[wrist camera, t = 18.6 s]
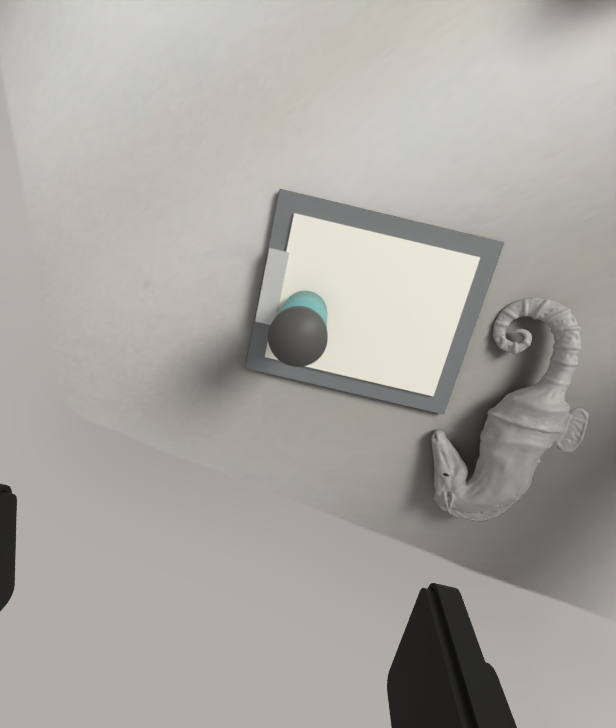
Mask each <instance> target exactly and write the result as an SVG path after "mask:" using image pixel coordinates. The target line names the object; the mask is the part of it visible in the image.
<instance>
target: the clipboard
mask: <svg viewBox="0 0 616 728" xmlns="http://www.w3.org/2000/svg"><path fill="white" fill-rule="evenodd" d="M503 245H504V242H500V241H496V240H492V239H488V238H484V237H479V236H475V235H471V234H467V233H463V232H458V231H454V230H450V229H446V228H442V227H438V226H433V225H429V224H425V223H421V222H417V221H412V220H408V219H404V218H400V217H396V216H392V215H387V214H383V213H379V212H375V211H371V210H366V209H362V208H358V207H354V206H350V205H345V204H341V203H337V202H333V201H329V200H325V199H320V198H316V197H312V196H308V195H304V194H299V193H295V192H291V191H287V190H283V189H280V190H279V196H278V201H277V206H276V211H275V216H274V221H273V227H272V232H271V237H270V242H269V247H268V253H267V258H266V263H265V268H264V273H263V279H262V284H261V289H260V294H259V299H258V305H257V310H256V315H255V320H254V325H253V331H252V336H251V341H250V346H249V351H248V357H247V362H246V367H245V368H247V369H251V370H256V371H260V372H264V373H268V374H273V375H277V376H281V377H285V378H290V379H294V380H298V381H303V382H307V383H311V384H315V385H320V386H324V387H328V388H333V389H337V390H341V391H345V392H350V393H354V394H358V395H362V396H367V397H371V398H375V399H380V400H384V401H388V402H392V403H397V404H401V405H405V406H409V407H414V408H418V409H422V410H427V411H431V412H435V413H439V414H444V413H445V410H446V407H447V404H448V401H449V399H450V396H451V393H452V390H453V387H454V384H455V382H456V379H457V376H458V373H459V370H460V367H461V364H462V362H463V359H464V356H465V353H466V350H467V347H468V344H469V342H470V339H471V336H472V333H473V330H474V327H475V325H476V322H477V319H478V316H479V313H480V310H481V307H482V305H483V302H484V299H485V296H486V293H487V290H488V287H489V285H490V282H491V279H492V276H493V273H494V270H495V268H496V265H497V262H498V259H499V256H500V253H501V250H502V248H503ZM299 291H311V292H314V293H316V294H318V295H319V296H320V297H321V298H322V299H323V300H324V302H325V304H326V307H327V332H328V340H327V346H326V349H325V351H324V353H323V354H322V356H321V357H320V358H319V359H318V360H317V361H315V362H314V363H312V364H310V365H307V366H303V367H293V366H289V365H286V364H284V363H282V362H281V361H279V360H278V359H277V358H276V357H275V356H274V354H273V353H272V351H271V349H270V347H269V344H268V331H269V328H270V325H271V323H272V322H273V320H274V318H275V317H276V316H277V315H278V313H279V312H280V310H281V309H282V307H283V305H284V304H285V302H286V300H287V299H288V298H289V297H290V296H291V295H292V294H294V293H296V292H299Z"/></svg>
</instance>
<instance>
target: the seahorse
mask: <svg viewBox="0 0 616 728" xmlns="http://www.w3.org/2000/svg"><path fill="white" fill-rule="evenodd" d="M521 316H524V317H526V316H529V317H532V318H533V319H538V320H541V321H542V322H544V323H545V324H547V325H549V327H550V328H551V332H552V333H553V334H554V338H555V344H554V345H553V348H554V350H553V354H552V357H551V358H550V365H549V368H548V370H547V372H546V373H545V375H544V376H543V377H542V378H541V380H540V381H539V382H538V383H537V384H535V385H533V386H529V387H526V388H522V389H519V390H516V391H514V392H512V393H509V394H507V395H506V396H505V397H504V398H503V400H502V401H500V402H499V403H498V404H497V405H496V406H495V407H494V408H491V409H489V411H488V412H487V414H488V417H487V420H486V422H485V425H484V429H483V430H482V432H481V434H480V439H481V442H480V449H479V453H480V456H479V458H478V460H477V463H476V468H475V472H474V474H473V476H472V477H471V478H470V479H468V480H467V479H466V478H467V475H468V468H467V466H466V464H465V462H464V461H463V460H462V459H461V457H460V455H459V453H458V452H457V450H456V449H455V448H454V447H453V445H452V444H451V443H450V441H449V440H448V439H447V438H446V436H445V433H444V432H443V431H441V430H439V429H437V430H435V432H434V433H433V434H432V436H431V442H432V451H433V458H434V469H435V476H434V488H435V491H436V492H435V495H434V500H435V501H436V502H437V503H438V504H439V507H440V508H441V509H442V510H444V511H446V510H447V511H448V513H449V514H451V515H454V516H455V517H459V518H464V519H470V520H472V521H477V520H478V521H481V522H482V521H485V520H488V519H493V518H496V517H497V516H499V515H500V514H501V513H502V514H503V513H504V512H505V511H506V510H508V508H509V506H511V505H513V504H514V503H515V502H517V501H518V500H519V498H520V497H521V496H522V495H523V494H524V493H525V492H526V491H527V490H528V489H529V487H530V485H531V481H532V477H533V474H534V471H535V470H536V467H537V465H538V464H539V463H540V457H541V456H542V455H543V453H544V452H545V451H546V450H547V449H549V448H550V447H551V446H552V445H554V446H556V447H557V448H559V449H560V450H562V451H563V452H564V453H570V452H573V451H574V450H575V449H576V448H577V447H578V446H579V445H580V444H581V442H582V441H583V438H584V435H585V431H586V428H587V424H588V418H589V414H588V413H587V411H585V410H584V409H582V408H576V409H574V410H572V411H571V412H570V406H569V404H568V403H567V402H566V401H565V394H566V391H567V388H568V386H569V385H570V384H571V377H572V375H573V373H574V370H575V368H576V366H577V365H578V364H579V363H578V357H579V352H580V350H581V349H582V348H581V337H580V329H581V327H580V326H578V324H577V321H576V319H575V318H574V316H573V315H572V314H571V310H570V309H569V308H565V307H564V306H562V305H561V304H559V303H557V302H555V301H552V300H549V299H542V298H536V297H534V298H528V299H523V300H520V301H517V302H514V303H512V304H510V305H508V306H507V307H506V308H505V309H503V310H502V311H501V313H500V314H499V315H498V317H497V319H496V321H495V322H494V327H493V328H494V329H493V338H494V341H495V343H496V344H497V345H498V347H499V348H500V349H502V350H504V351H505V352H510V353H513V354H517V353H520V352H522V351H524V350H525V349H526V348H527V347H529V346H530V345H531V342H532V335H531V333H530V332H529V331H527V330H525V329H516V330H514V332H513V333H520V334H523V336H524V339H523V340H522V342H521V343H517V342H511V341H509V340H508V339H506V336H505V333H506V331H505V329H506V327H507V326H509V325H510V323H511V322H512V321H513V320H514V319H517V318H519V317H521Z"/></svg>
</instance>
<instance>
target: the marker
mask: <svg viewBox="0 0 616 728" xmlns="http://www.w3.org/2000/svg"><path fill="white" fill-rule="evenodd" d="M327 340H328V332H327V307H326V304H325V302H324V300H323V299H322V298H321V297H320V296H319V295H318V294H316V293H314V292H311V291H299V292H296V293H294V294H292V295H291V296H290V297H289V298H288V299H287V300H286V302H285V304H284V305H283V307H282V309H281V310H280V312H279V313H278V315H277V316H276V317H275V318H274V320H273V322H272V323H271V325H270V328H269V331H268V344H269V347H270V349H271V351H272V353H273V354H274V356H275V357H276V358H277V359H278V360H279V361H281V362H282V363H284V364H286V365H289V366H293V367H303V366H307V365H310V364H312V363H314V362H315V361H317V360H318V359H319V358H320V357H321V356H322V354H323V353H324V351H325V349H326V346H327Z"/></svg>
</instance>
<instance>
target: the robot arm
mask: <svg viewBox="0 0 616 728" xmlns="http://www.w3.org/2000/svg"><path fill="white" fill-rule="evenodd" d="M16 510H17V497H16V496H15V494H12V491H11V488H10V486H7V485H3V484H0V611H1V610H2V609H3V608H4V606H5V605H6V604H7V603H8V601H9V600H10V598H11V596H12V593H13V591H14V586H15V549H16ZM387 692H388V701H389V709H390V717H391V726H392V728H517V727H516V724H515V721H514V719H513V716H512V714H511V711H510V708H509V705H508V703H507V700H506V697H505V695H504V692H503V689H502V687H501V684H500V681H499V679H498V676H497V674H496V672H495V670H494V668H493V667H492V666H491V665H490V664H489V663H486V662H485V660H484V657H483V655H482V652H481V649H480V646H479V643H478V641H477V638H476V635H475V632H474V630H473V627H472V624H471V621H470V618H469V616H468V613H467V610H466V607H465V604H464V602H463V599H462V596H461V594H460V592H459V590H458V589H457V588H453V587H448V586H444V585H440V584H436V583H431V584H430V585H429V587H428V589H426V588H422V589H421V590H420V592H419V595H418V598H417V600H416V603H415V605H414V608H413V611H412V613H411V616H410V618H409V621H408V624H407V626H406V629H405V632H404V634H403V637H402V639H401V642H400V644H399V647H398V650H397V652H396V655H395V658H394V660H393V663H392V665H391V668H390V670H389V674H388V680H387Z"/></svg>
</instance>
